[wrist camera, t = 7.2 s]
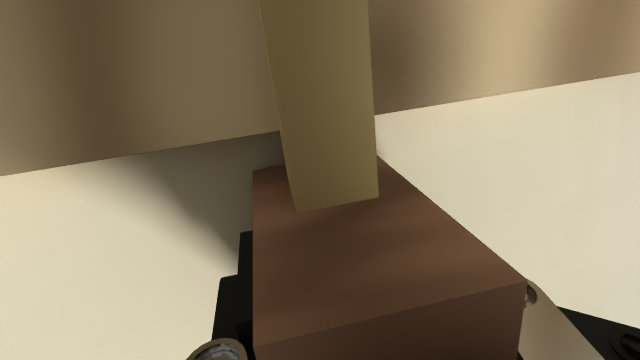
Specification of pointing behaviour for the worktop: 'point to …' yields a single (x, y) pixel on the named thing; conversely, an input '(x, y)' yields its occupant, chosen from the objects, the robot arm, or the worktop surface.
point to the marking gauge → (359, 220)
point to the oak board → (266, 66)
